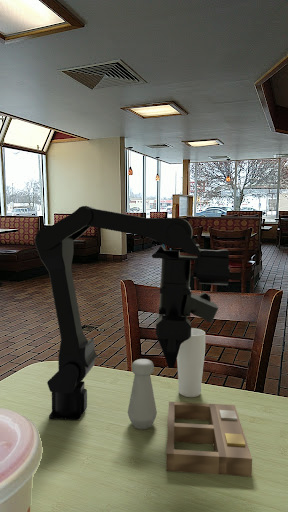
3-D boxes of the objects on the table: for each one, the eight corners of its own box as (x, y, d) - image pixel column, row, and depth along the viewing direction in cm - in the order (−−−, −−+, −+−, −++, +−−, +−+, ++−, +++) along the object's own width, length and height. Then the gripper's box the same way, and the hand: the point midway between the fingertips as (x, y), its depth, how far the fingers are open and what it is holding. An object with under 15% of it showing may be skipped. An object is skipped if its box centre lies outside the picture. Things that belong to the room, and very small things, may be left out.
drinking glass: (185, 402, 85) (187, 337, 84) (170, 390, 91) (171, 329, 90) (209, 396, 88) (211, 333, 87) (193, 385, 94) (194, 326, 93)
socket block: (166, 470, 61) (166, 451, 61) (168, 415, 79) (168, 399, 79) (251, 476, 60) (252, 456, 60) (234, 418, 78) (234, 403, 78)
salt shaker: (153, 433, 72) (154, 367, 71) (124, 430, 73) (125, 365, 72) (158, 418, 78) (159, 357, 77) (131, 415, 79) (132, 354, 78)
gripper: (222, 292, 64) (217, 380, 66) (211, 277, 83) (207, 346, 84) (157, 289, 65) (153, 376, 66) (160, 274, 84) (157, 343, 85)
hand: (171, 358), depth 76 cm, fingers open, 9 cm apart
